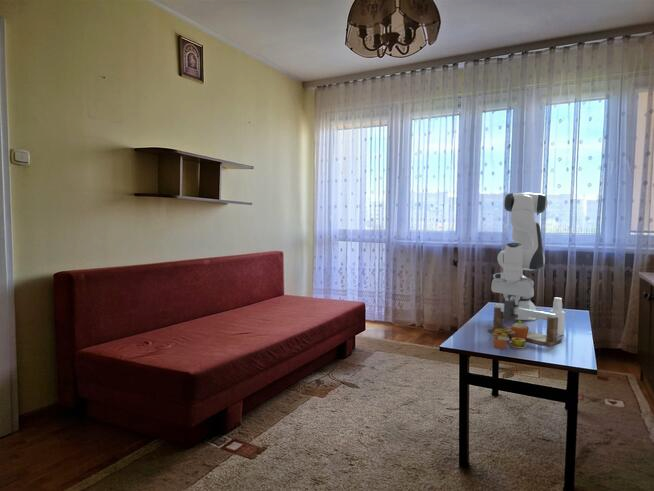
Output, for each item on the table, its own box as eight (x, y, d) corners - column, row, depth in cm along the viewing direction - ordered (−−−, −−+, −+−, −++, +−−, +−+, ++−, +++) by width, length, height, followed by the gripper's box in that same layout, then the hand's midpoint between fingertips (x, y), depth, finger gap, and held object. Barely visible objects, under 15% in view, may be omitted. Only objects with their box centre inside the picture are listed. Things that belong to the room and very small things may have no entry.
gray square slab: (503, 319, 205) (504, 301, 205) (512, 316, 211) (513, 299, 210) (508, 320, 203) (509, 302, 203) (517, 317, 209) (518, 300, 208)
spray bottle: (551, 331, 213) (552, 296, 212) (565, 333, 209) (567, 298, 207) (546, 333, 209) (548, 297, 207) (561, 336, 204) (563, 299, 203)
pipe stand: (488, 331, 210) (489, 304, 209) (500, 328, 218) (501, 301, 217) (549, 346, 187) (551, 316, 186) (561, 342, 194) (563, 312, 193)
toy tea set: (493, 334, 207) (493, 315, 206) (527, 338, 201) (528, 318, 200) (489, 348, 184) (489, 327, 183) (528, 354, 177) (529, 331, 176)
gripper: (537, 278, 199) (535, 306, 200) (496, 273, 215) (495, 299, 216) (530, 279, 196) (529, 308, 196) (490, 274, 212) (489, 301, 212)
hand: (511, 303), depth 207 cm, fingers closed on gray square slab, 2 cm apart
